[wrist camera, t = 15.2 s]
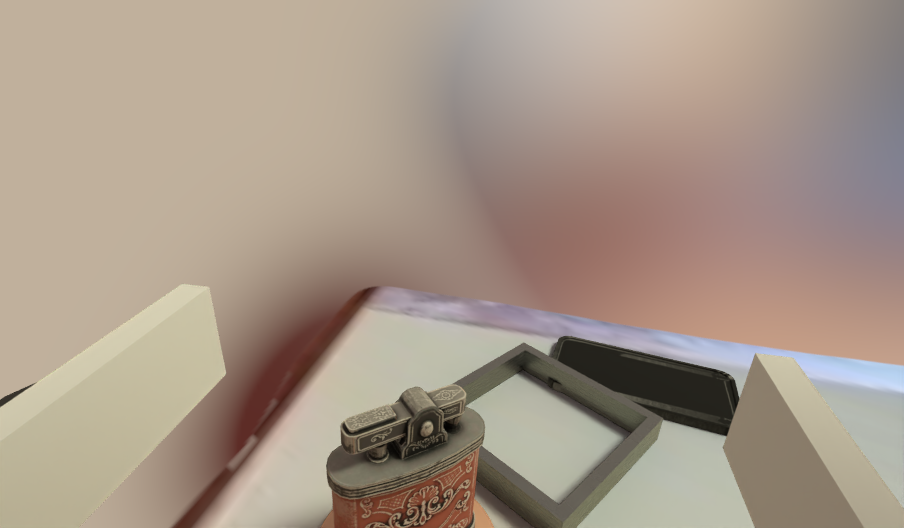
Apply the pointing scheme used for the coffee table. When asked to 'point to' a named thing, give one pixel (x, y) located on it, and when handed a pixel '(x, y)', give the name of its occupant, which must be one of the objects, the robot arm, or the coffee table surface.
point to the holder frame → (520, 495)
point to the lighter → (408, 463)
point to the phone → (655, 382)
